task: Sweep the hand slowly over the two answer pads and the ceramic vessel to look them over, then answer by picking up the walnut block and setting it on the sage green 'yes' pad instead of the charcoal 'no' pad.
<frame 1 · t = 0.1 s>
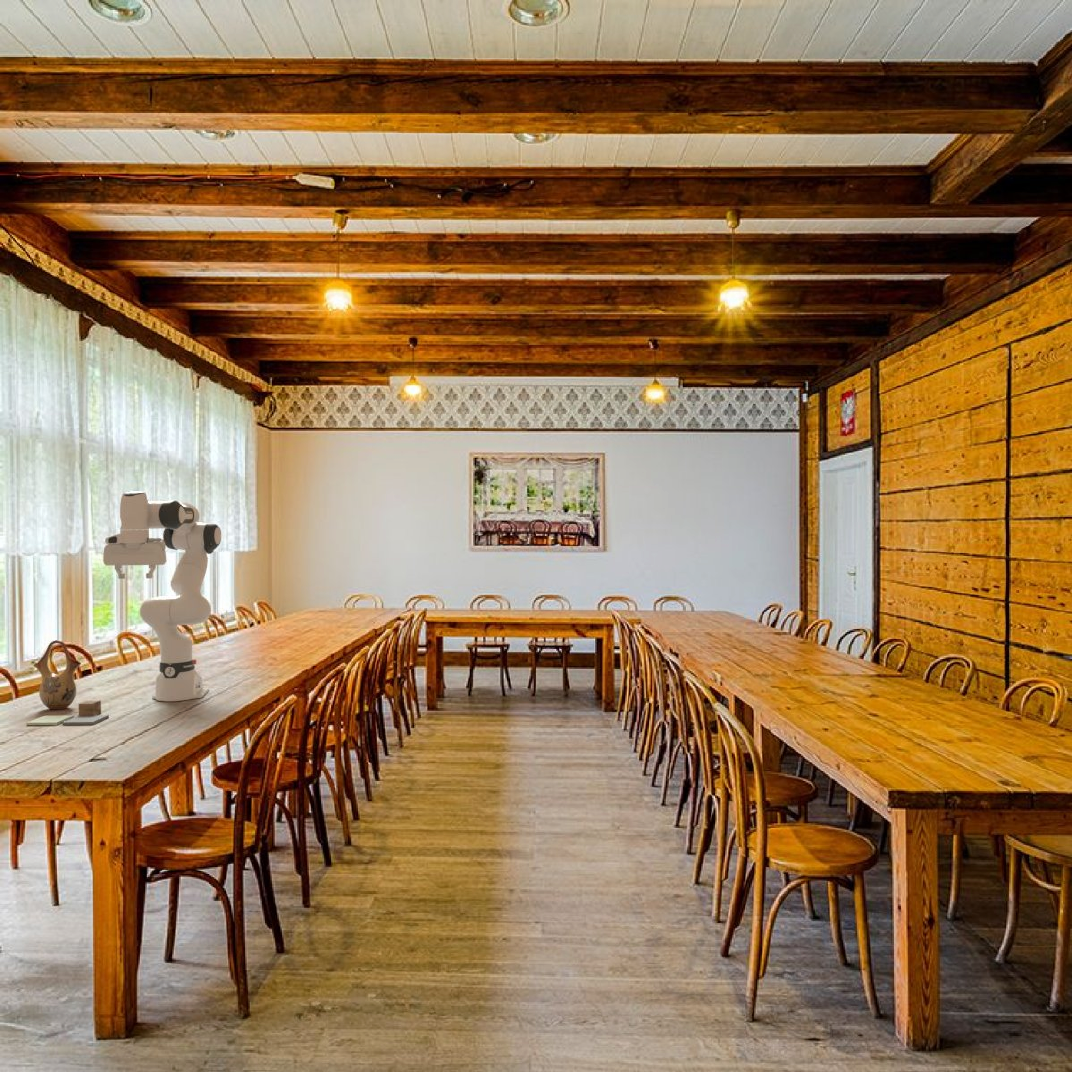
hand: (135, 578, 276), 48 cm above the table, tool pointing down, fingers open, 8 cm apart
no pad: (86, 721, 271), on the table
walnut block: (90, 716, 279), on the table
ceramic vessel: (58, 709, 291), on the table
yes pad: (50, 721, 271), on the table
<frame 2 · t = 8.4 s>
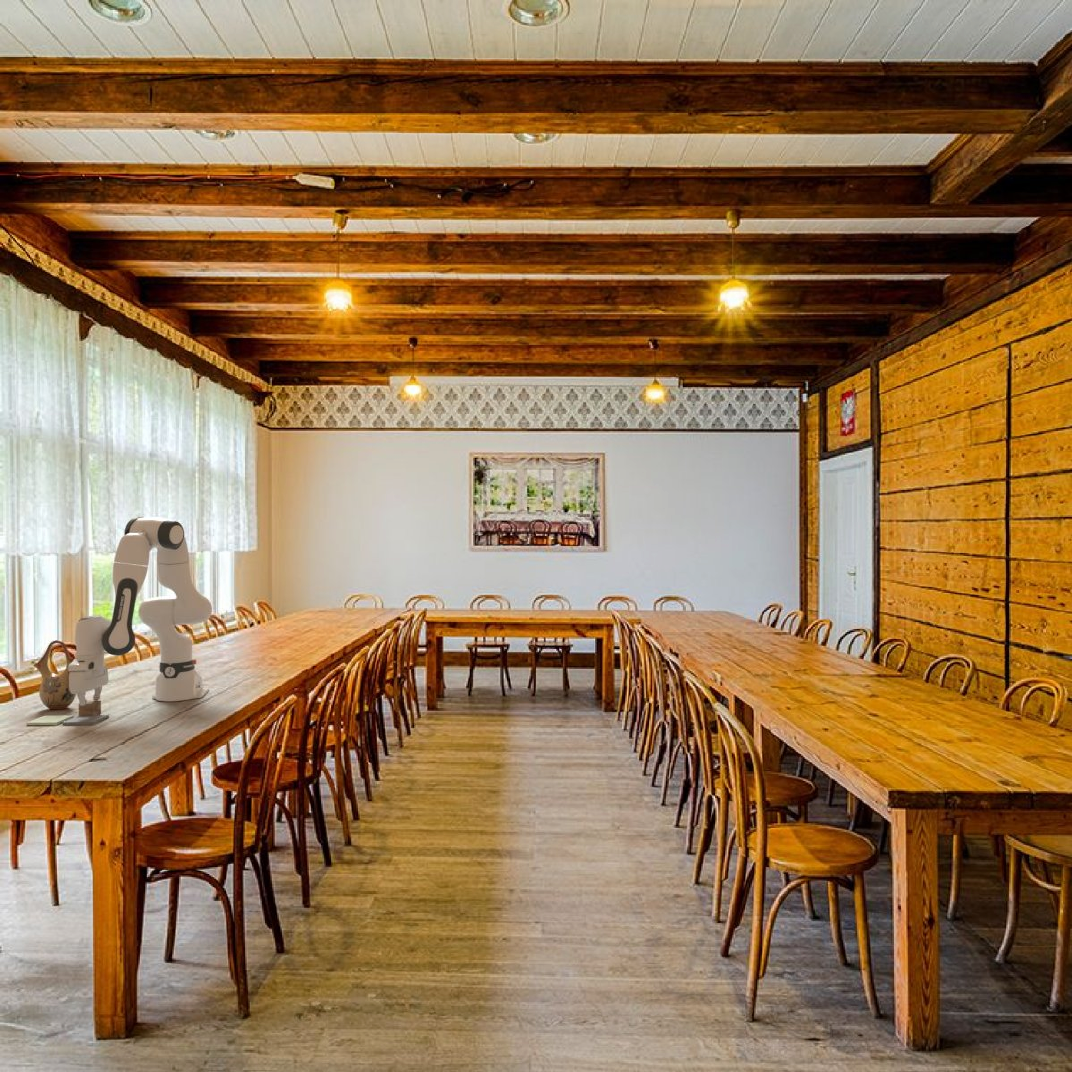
hand: (90, 702, 278), 5 cm above the table, tool pointing down, fingers open, 8 cm apart
walnut block: (90, 716, 279), on the table, touching gripper
everything else where it was.
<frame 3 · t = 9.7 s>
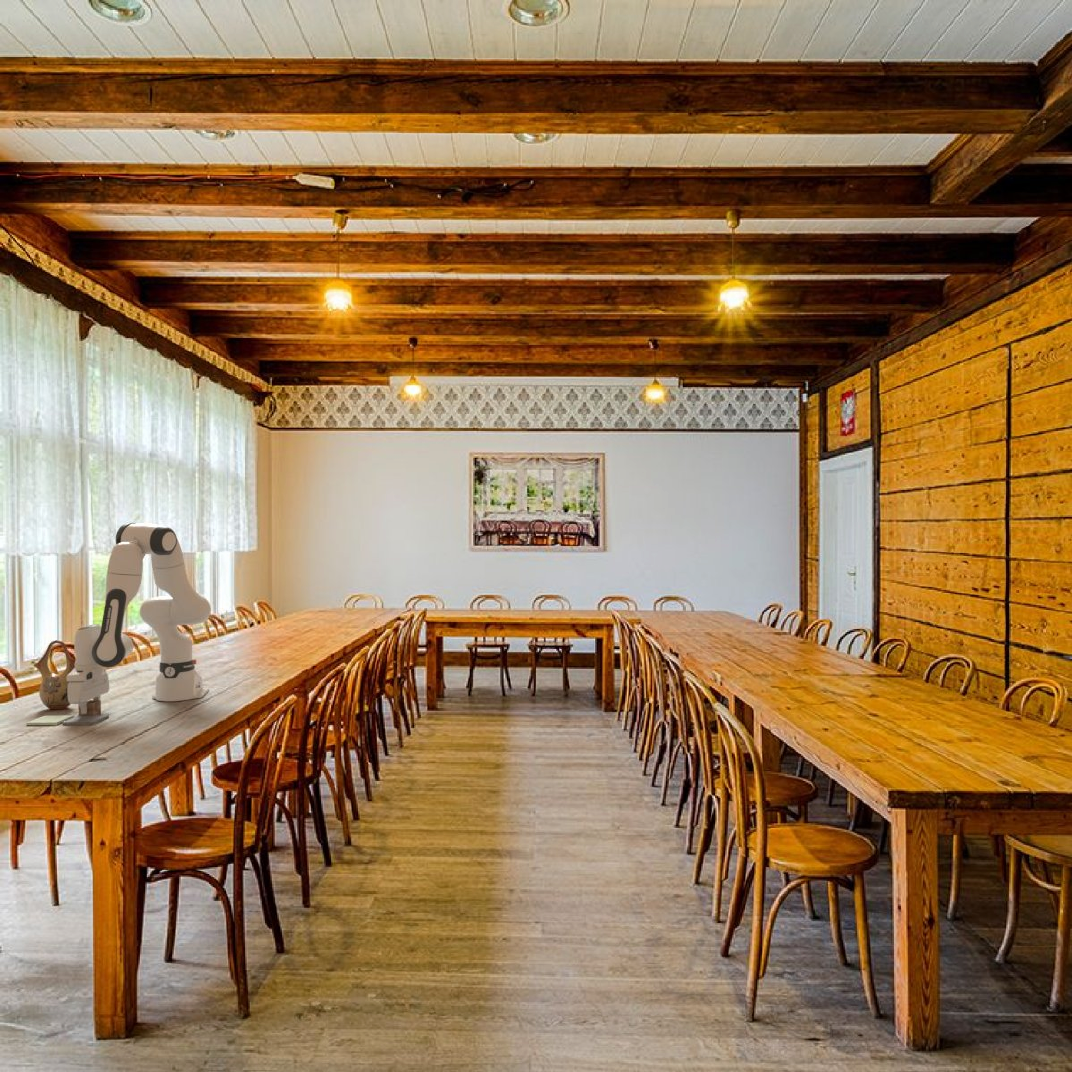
hand: (89, 711, 279), 2 cm above the table, tool pointing down, fingers closed on walnut block, 5 cm apart
walnut block: (89, 716, 279), on the table, touching gripper
everything else where it was.
when the fingers open (4 cm above the table, at t = 16.0 s): walnut block stays where it is, resting on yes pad.
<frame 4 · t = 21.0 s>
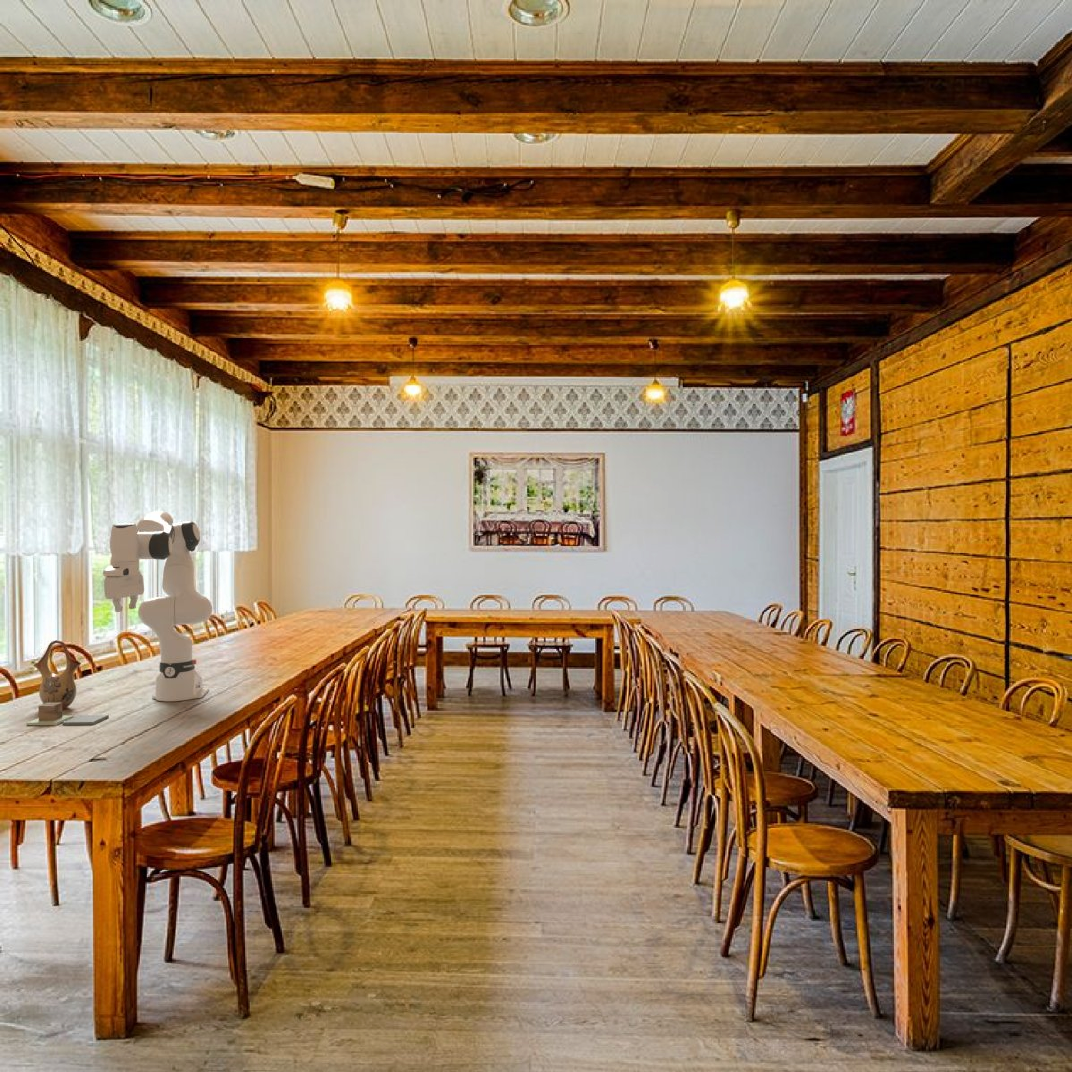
hand: (125, 610, 275), 37 cm above the table, tool pointing down, fingers open, 8 cm apart
walnut block: (50, 718, 271), point 1 cm above the table, touching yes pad
everything else where it was.
at the end: walnut block inside the target area on the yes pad (0.1 cm from its centre), point 1.0 cm above the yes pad's base; the gripper is holding nothing; ceramic vessel moved 0.2 cm from its start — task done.
